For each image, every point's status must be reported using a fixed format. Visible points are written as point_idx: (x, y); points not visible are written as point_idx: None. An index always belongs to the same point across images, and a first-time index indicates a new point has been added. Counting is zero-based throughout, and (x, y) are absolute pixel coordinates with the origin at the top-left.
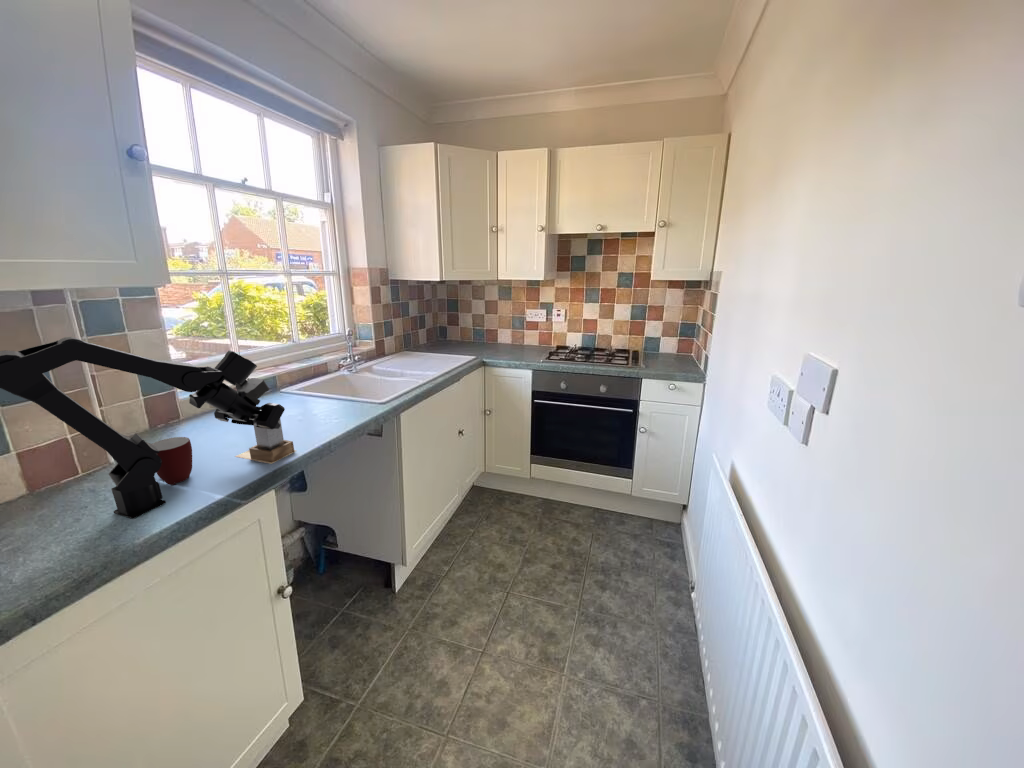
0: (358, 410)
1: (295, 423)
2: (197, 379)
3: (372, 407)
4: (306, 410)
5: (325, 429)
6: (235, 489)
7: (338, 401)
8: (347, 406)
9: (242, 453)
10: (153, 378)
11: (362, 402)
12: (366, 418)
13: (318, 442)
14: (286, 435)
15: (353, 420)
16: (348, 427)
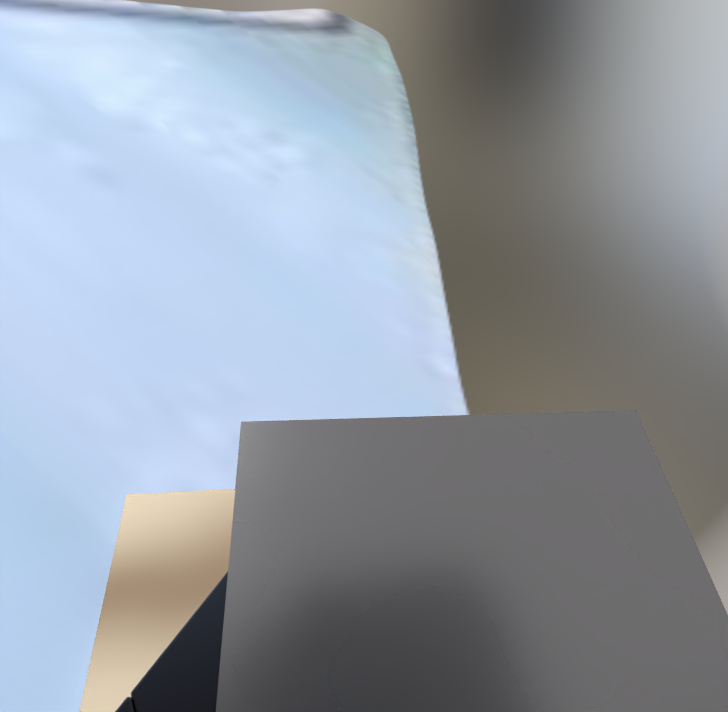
0: (296, 73)
1: (102, 206)
2: None
3: (326, 51)
4: (47, 97)
5: (322, 224)
6: None
7: (137, 26)
8: (217, 53)
9: (88, 703)
10: None
11: (249, 26)
12: (394, 118)
13: (424, 339)
14: (171, 326)
15: (360, 138)
16: (403, 188)
